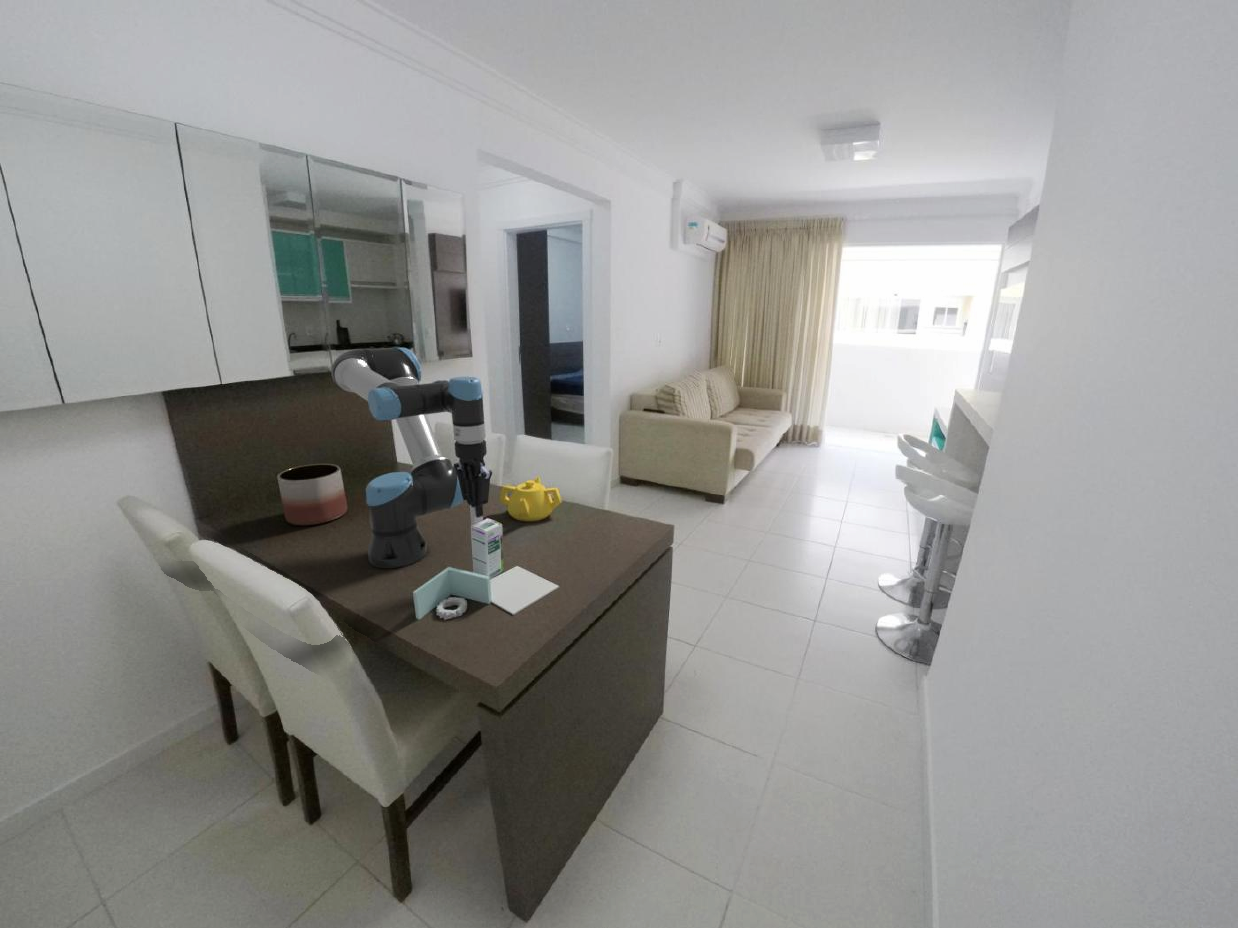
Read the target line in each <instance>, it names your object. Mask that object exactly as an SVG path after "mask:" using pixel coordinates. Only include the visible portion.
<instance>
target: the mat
mask: <svg viewBox="0 0 1238 928" xmlns="http://www.w3.org/2000/svg"><path fill="white" fill-rule="evenodd" d="M490 585H491V599H492V600H491V604H493V605H495V606H497V607H498V608H500V609H502V610H504V611H506V612H507V613H509V614H511V615H512V616H515V615H516V614H518V613H520V612H522V611H523V610H525V609H526V608H528V607H530V606H531V605H533V604H535V603H536V602H537V601H539V600H541V599H543V598H544V597H547V596H548V595H549V594H551V593H552V592H554V591H556V590H558V589H559V588H560V585H558V584H556V583H553V582H551V581H550V580H547V579H545V578H543V577H540V576H539V575H537V574H535V573H533V572H530V571H529V570H528V569H524V568H522V567H520V566H518V565H515V566H514V567H513V568H510V569H509V570H508V569H507V570H506V571H503V572H501V573H500V574H498V575H496V576H495V577H493V578H491V579H490Z"/></svg>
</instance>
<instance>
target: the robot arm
mask: <svg viewBox="0 0 1238 928" xmlns="http://www.w3.org/2000/svg"><path fill="white" fill-rule="evenodd" d="M333 361H334V362H333V363H332V365H331V369H330V370H331V371H330V372H331V376H332V379H333V381H334V383H335V384H336V385H337V386H338V387H339V388H341V389H342V390H344V391H346V392H349V393H355V394H356V395H358V396H359V397H360V398H362V399H364V400H365V401H367V402H368V403H367V404H368V408H369V412H370V413H371V414H372V417H373V418H374V419H375V420H377V421H385V420H388V421H393V420H395V421H396V423H397V427H398V428H399V431H400V434H401V436H402V440H403V442H404V444H405V447H406V450H407V452H408V455H409V456H410V461H411V463H412V465H413V467H412V469H411V471H410V473H409V472H407V471H397V472H395V471H394V472H389V473H385V474H382V475H380V476H377V477H375V478H374V479H372V480H371V481H370V482H368V483H367V485H366V488H365V496H366V499H365V503H366V505H367V509H368V511H367V512H368V516H369V517H368V518H369V523H370V530H371V538H370V542H369V547H368V551H367V557H368V561H369V564H370V565H371V566H373V567H376V568H380V569H394V568H397V569H398V568H402V567H406V566H409V565H412V564H414V563H416V562H418V561H420V560H421V559H423V557H425V556H426V554H427V552H428V547H427V543H426V540H425V538H424V536H423V534H422V532H421V530H420V528H419V526H418V517H421V516H424V515H428V514H432V513H436V512H439V511H442V510H446V509H452V508H453V507H456V506H459V505H461V504H463V503H464V501H466V503H467V504H468V508H469V509H468V510H469V514H470V516H469V517H470V523H471V524H470V527H471V526H472V525H474V524H476V523H479V522H481V521H483V520H484V507H483V506H484V505H486V504H488V503H489V496H490V484H491V479H492V475H493V471H492V470H491V469H490V470H488V469H487V467H486V463H485V460H484V458H485V456H486V455H487V452H488V451H487V441H486V440H485V439H486V435H487V433H486V425H485V424H486V423H485V415H484V413H485V412H484V399H483V398H484V397H483V396H484V392H483V389H482V382H481V380H480V378H478V377H476V376H457V377H451V378H450V379H449V381H448V380H445V379H444V380H443V379H442V380H434V381H432V382H430V383H420V382H421V380H422V370H421V364H420V362H419V360H418V358H417V356H416V354H415V353H414V352H413V351H412V350H411V349H409V348H406V347H397V346H393V347H392V346H391V347H388V348H387V347H383V348H382V347H381V348H378V347H377V348H354V349H351V350H348V351H346V352H343V353H342V354H340V355H338V357H337V358H335V360H333ZM439 413H450V414H451V421H452V428H453V429H452V430H453V440H454V441H455V442H454V452H455V457H457V458H458V461H459V462H456V463H453V464H452V461H451V459H450V458H448V457H445V456H443V453H442V451H441V448H440V445H439V444H438V441H437V439H436V436H435V433H434V431H433V429H432V426H431V422H430V421H429V419H428V416H427V415H432V414H433V415H434V414H439Z"/></svg>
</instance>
